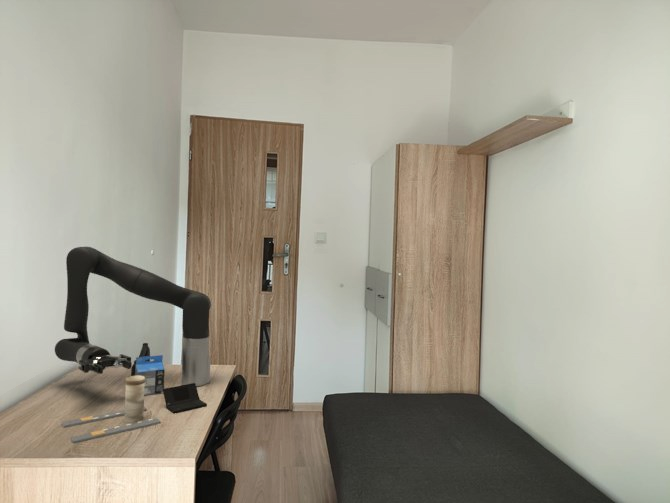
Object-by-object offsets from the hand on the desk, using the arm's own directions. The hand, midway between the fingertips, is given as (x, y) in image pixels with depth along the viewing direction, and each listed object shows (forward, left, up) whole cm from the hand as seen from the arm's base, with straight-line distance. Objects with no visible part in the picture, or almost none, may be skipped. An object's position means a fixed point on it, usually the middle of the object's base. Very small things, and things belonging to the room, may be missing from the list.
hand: (116, 368), depth 137 cm
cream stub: (-2, +11, -13) cm, 17 cm away
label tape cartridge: (-13, -9, -13) cm, 21 cm away
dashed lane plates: (+4, +11, -13) cm, 17 cm away
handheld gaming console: (-18, +9, -13) cm, 24 cm away
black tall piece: (-16, -27, -13) cm, 34 cm away
